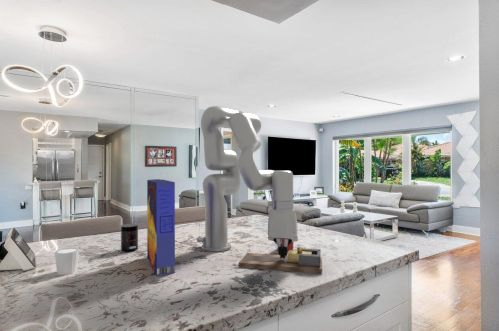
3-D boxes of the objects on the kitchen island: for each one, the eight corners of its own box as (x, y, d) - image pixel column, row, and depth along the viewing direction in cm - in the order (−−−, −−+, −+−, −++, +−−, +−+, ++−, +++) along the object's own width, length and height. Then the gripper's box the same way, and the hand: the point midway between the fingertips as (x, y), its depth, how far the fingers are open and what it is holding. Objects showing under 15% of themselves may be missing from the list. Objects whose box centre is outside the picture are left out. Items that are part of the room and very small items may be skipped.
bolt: (287, 261, 102) (287, 248, 102) (289, 258, 106) (289, 245, 106) (311, 263, 100) (311, 250, 100) (311, 260, 104) (311, 247, 104)
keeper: (298, 265, 99) (298, 255, 99) (300, 257, 107) (300, 248, 107) (320, 267, 97) (320, 256, 97) (320, 259, 106) (320, 249, 106)
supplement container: (132, 247, 128) (132, 223, 128) (141, 249, 124) (141, 225, 124) (117, 250, 123) (117, 225, 123) (125, 253, 119) (125, 227, 119)
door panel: (238, 266, 102) (238, 262, 102) (247, 256, 114) (247, 252, 114) (321, 273, 96) (321, 268, 96) (322, 262, 107) (322, 257, 107)
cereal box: (147, 257, 114) (147, 179, 114) (163, 255, 116) (163, 179, 117) (156, 275, 94) (155, 181, 94) (174, 272, 97) (174, 181, 97)
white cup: (61, 277, 93) (61, 254, 93) (50, 273, 97) (50, 251, 97) (83, 270, 99) (83, 249, 99) (72, 267, 103) (72, 246, 103)
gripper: (259, 206, 103) (260, 258, 103) (303, 207, 99) (303, 262, 99) (264, 203, 110) (264, 252, 110) (304, 204, 106) (305, 255, 106)
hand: (282, 257), depth 105 cm, fingers closed
